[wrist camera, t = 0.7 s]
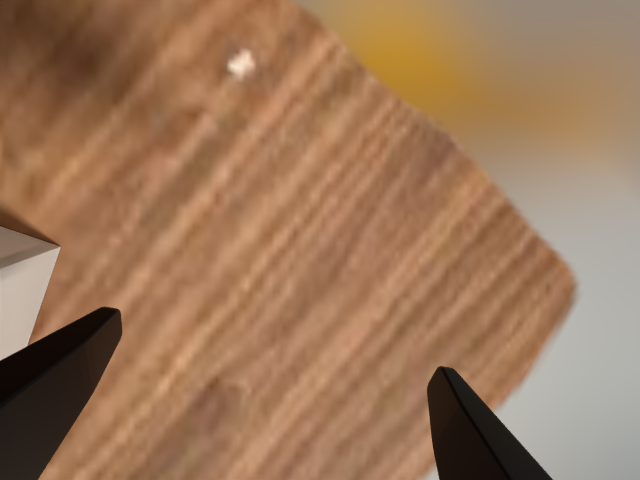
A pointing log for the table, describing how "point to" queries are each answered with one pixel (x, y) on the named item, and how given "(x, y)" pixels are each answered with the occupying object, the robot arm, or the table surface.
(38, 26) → the table surface
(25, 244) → the grey rectangular frame
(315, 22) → the table surface
